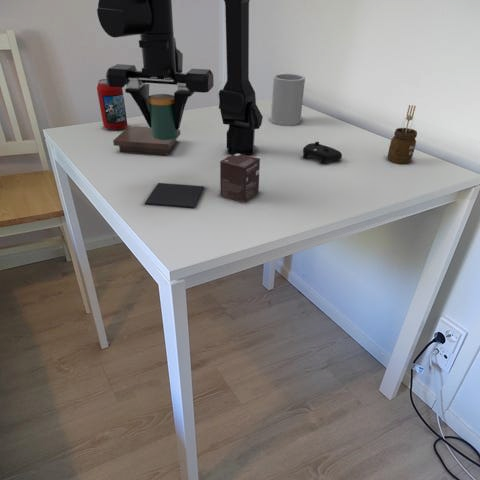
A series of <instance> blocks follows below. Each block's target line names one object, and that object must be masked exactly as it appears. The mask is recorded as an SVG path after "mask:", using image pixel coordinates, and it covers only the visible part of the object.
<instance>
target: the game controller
mask: <svg viewBox="0 0 480 480" xmlns="http://www.w3.org/2000/svg"><path fill="white" fill-rule="evenodd" d="M302 153H303V155H302V158H303V159H308V158H309V157H310V158H313V159H317V160H320V164H326V163H327V162H329V161H335V162H336V161H337V162H338V161H341V159H342V158H343V154H342V152H341V151H340V150H338V149H335V148H334V147H331V146H327V145H324V144H321V143H320V141H315V142H311V143H308V144H306V145H304V147H303V148H302Z"/></svg>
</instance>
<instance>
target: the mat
mask: <svg viewBox="0 0 480 480" xmlns="http://www.w3.org/2000/svg"><path fill="white" fill-rule="evenodd" d="M204 188H205V187H204V186H203V185H192V184H191V185H190V184H177V183H168V182H167V183H166V182H165V183H164V182H158V183H157V185H155V187H154V188H153V190H152V191H151V193H150V194H149V196H148V197H147V199H145V201H144V205H147V206H158V207H159V206H162V207H170V208H171V207H174V208H184V209H185V208H186V209H195V208H196V205H197V204H198V202H199V199H200V197H201V195H202V193H203V191H204Z"/></svg>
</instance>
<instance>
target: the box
mask: <svg viewBox="0 0 480 480" xmlns="http://www.w3.org/2000/svg"><path fill="white" fill-rule="evenodd" d="M260 163H261V158H260V157H255V156H252V155H246V154H238V153H235V154H232V155H228V156H226V157H225V158H224V159H222V160H220V161H219V177H220V178H219V184H220V186H219V187H220V192H219V193H220V196H221V197H224V198H227V199H231V200H235V201H238V202H242V203H245V202H247V201H249V200H250V199H252V198H253V197H255V196H256V195H257V194H259V190H260V168H261V167H260V166H261V165H260Z"/></svg>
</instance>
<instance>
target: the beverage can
mask: <svg viewBox="0 0 480 480" xmlns="http://www.w3.org/2000/svg"><path fill="white" fill-rule="evenodd" d="M97 81H98V82H97V86H96V91H97V97H98V102H99V109H100V116H101V120H102V126H103V127H104V128H106V130H107V129H108V130H110V131H121V130H123V129H126V128H127V126H128V119H127V112H126V103H125V97H124V90H123V87H109V86H107V79H106V78H101V79H99V80H97Z"/></svg>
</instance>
